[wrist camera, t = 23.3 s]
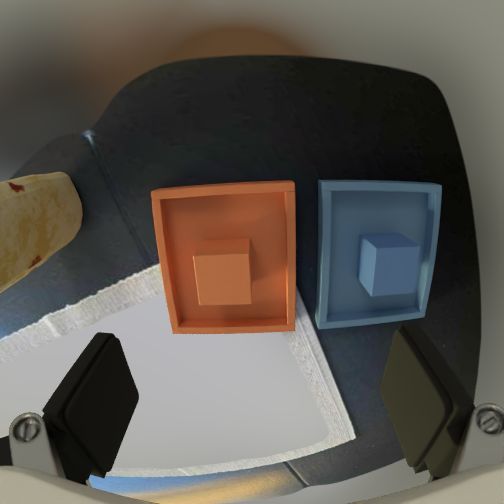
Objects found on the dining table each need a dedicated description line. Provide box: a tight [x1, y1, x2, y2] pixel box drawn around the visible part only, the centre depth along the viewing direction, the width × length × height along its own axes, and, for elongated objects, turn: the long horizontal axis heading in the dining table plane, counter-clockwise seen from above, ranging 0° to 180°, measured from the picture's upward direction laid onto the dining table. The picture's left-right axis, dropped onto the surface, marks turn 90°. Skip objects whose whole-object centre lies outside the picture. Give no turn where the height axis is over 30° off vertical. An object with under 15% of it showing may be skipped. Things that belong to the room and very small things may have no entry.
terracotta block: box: [193, 238, 252, 305], centre depth 27 cm, size 4×4×4 cm
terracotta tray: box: [151, 180, 296, 334], centre depth 28 cm, size 15×13×2 cm
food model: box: [0, 172, 83, 293], centre depth 18 cm, size 10×7×20 cm
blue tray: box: [315, 180, 442, 329], centre depth 28 cm, size 15×13×2 cm
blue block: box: [357, 233, 420, 297], centre depth 26 cm, size 4×4×4 cm
